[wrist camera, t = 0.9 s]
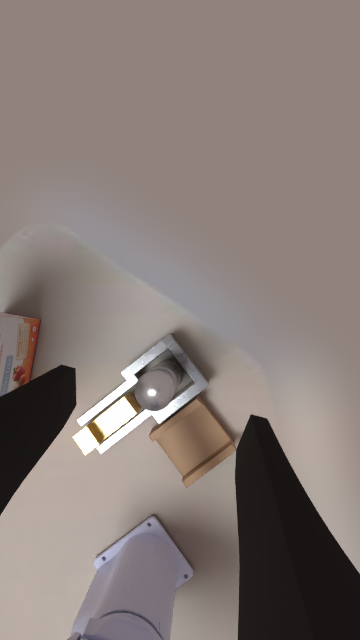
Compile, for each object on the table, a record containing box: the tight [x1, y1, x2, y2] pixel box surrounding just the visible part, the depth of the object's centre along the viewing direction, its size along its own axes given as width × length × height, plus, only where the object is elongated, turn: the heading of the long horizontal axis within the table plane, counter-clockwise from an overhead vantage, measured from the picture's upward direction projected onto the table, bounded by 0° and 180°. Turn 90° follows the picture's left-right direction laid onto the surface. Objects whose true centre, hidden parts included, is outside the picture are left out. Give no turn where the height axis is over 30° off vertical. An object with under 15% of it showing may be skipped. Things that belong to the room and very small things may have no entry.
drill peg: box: [135, 361, 182, 411], centre depth 27 cm, size 4×4×8 cm
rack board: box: [149, 394, 236, 488], centre depth 29 cm, size 7×7×2 cm
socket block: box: [77, 334, 209, 454], centre depth 30 cm, size 16×7×2 cm, turn 128°
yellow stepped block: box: [73, 392, 142, 455], centre depth 30 cm, size 7×2×4 cm, turn 128°
